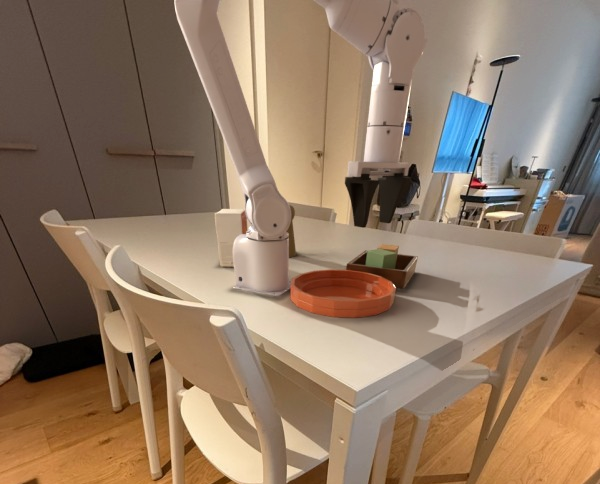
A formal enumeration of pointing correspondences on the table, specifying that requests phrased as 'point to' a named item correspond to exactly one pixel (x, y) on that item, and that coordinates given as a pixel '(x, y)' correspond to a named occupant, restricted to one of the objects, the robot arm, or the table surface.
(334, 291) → the orange round tray
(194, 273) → the table surface
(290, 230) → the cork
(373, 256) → the green block
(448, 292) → the table surface
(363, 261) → the holder
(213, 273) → the table surface
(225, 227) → the small box
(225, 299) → the table surface
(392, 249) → the light brown block
